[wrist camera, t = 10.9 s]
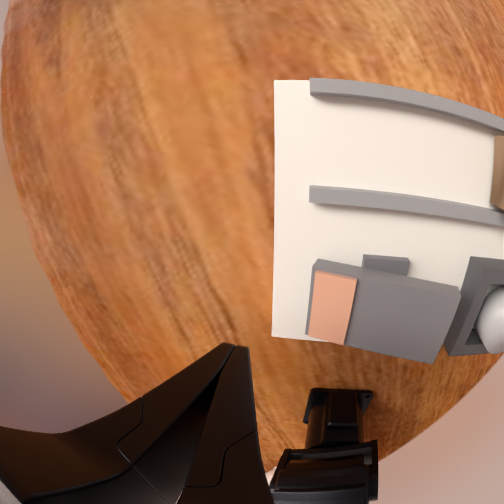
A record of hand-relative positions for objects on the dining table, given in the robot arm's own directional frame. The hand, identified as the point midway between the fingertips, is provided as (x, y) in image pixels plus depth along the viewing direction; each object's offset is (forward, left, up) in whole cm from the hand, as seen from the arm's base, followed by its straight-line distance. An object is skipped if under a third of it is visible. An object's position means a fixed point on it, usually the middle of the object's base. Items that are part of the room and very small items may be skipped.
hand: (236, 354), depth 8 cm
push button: (-3, -17, -8) cm, 19 cm away
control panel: (+2, -11, -12) cm, 16 cm away
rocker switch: (-3, -7, -8) cm, 11 cm away
